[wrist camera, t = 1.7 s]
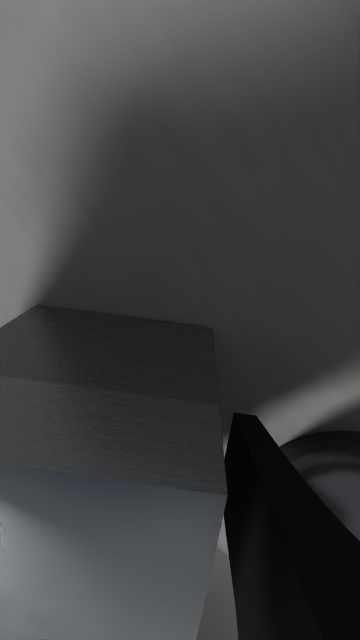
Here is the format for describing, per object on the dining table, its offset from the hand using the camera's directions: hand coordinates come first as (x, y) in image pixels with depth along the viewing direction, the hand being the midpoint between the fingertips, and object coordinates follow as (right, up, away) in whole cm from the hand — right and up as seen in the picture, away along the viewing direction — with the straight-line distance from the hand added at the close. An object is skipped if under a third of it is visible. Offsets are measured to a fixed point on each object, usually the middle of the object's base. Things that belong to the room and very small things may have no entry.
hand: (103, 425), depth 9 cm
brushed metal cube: (0, +1, +2) cm, 2 cm away
